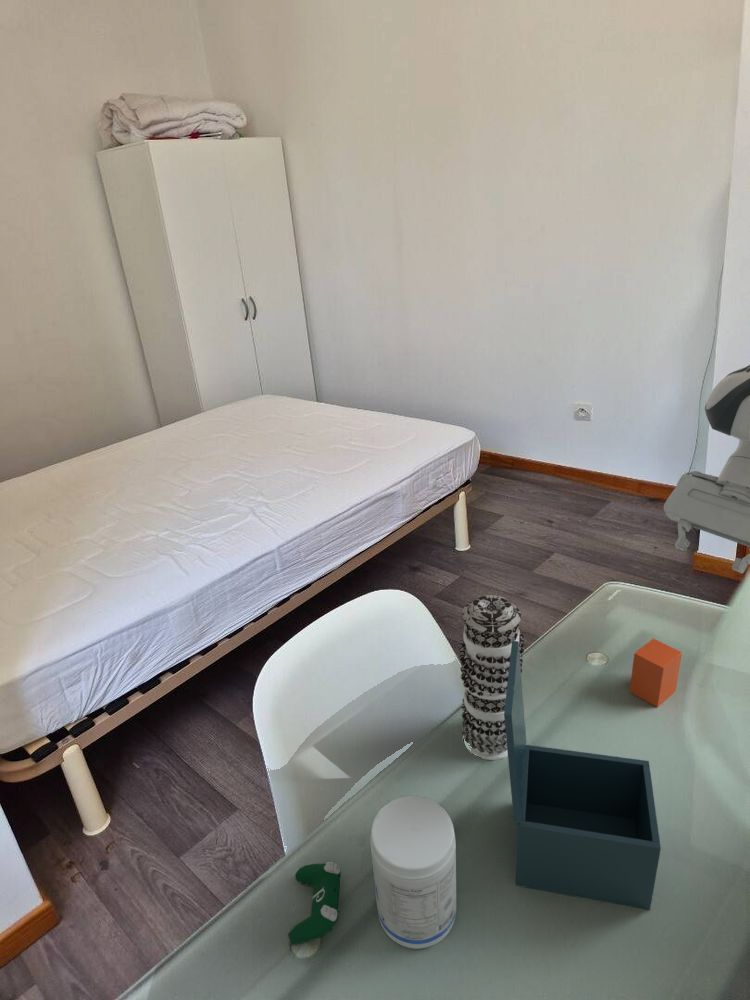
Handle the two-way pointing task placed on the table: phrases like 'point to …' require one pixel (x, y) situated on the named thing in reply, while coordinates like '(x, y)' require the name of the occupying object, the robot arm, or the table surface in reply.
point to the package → (655, 672)
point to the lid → (515, 731)
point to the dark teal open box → (588, 827)
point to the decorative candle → (487, 672)
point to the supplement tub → (414, 871)
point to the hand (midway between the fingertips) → (707, 559)
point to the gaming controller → (318, 901)
